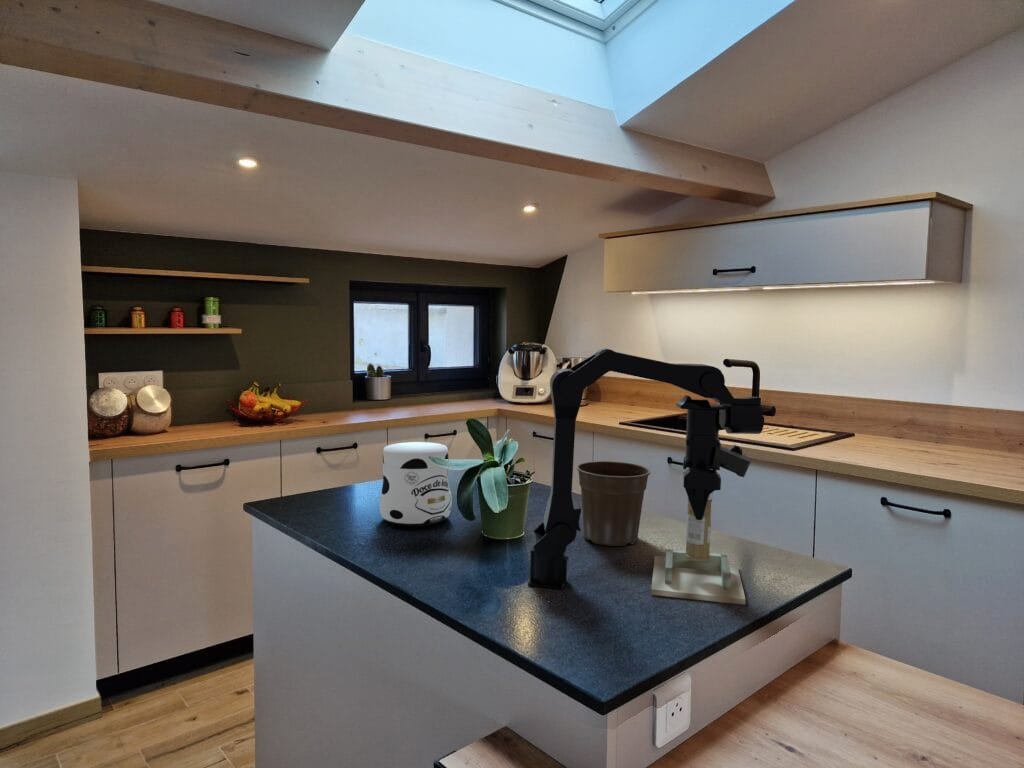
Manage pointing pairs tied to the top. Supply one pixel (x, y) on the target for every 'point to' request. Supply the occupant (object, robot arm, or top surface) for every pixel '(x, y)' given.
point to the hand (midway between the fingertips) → (698, 516)
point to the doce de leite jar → (414, 485)
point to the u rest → (697, 578)
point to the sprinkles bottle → (698, 533)
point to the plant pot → (612, 501)
